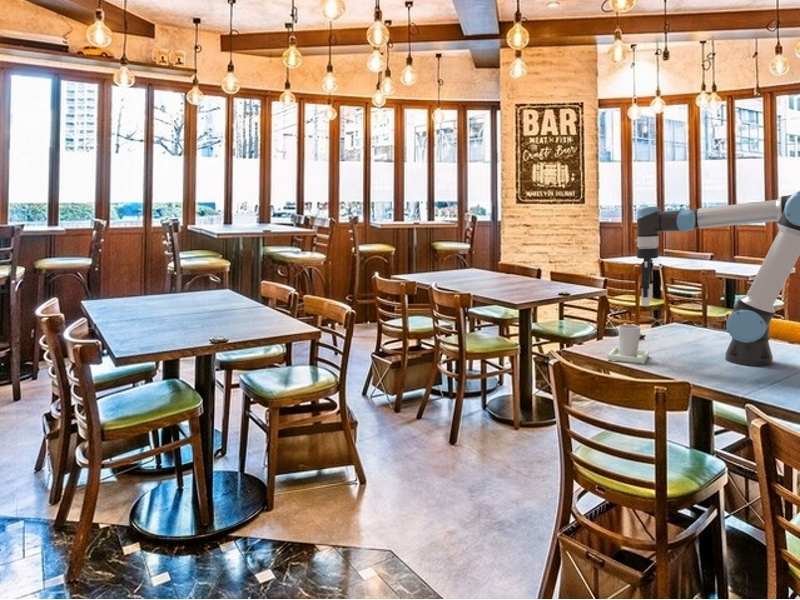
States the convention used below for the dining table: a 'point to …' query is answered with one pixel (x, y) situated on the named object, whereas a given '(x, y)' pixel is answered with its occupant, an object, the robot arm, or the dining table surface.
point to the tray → (639, 359)
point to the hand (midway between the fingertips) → (646, 303)
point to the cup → (629, 340)
